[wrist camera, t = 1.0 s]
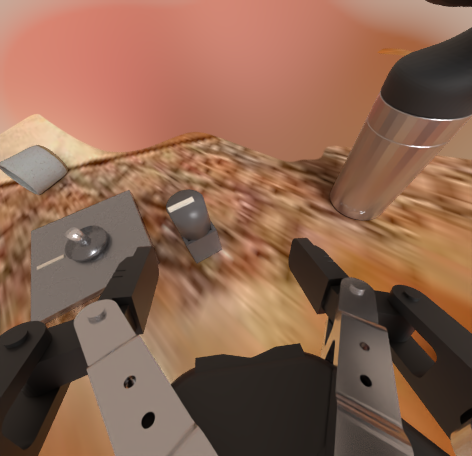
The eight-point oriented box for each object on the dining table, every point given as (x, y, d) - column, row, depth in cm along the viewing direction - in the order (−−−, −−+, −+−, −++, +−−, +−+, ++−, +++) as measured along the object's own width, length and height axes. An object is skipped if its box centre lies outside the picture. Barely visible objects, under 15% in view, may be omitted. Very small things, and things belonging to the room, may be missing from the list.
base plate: (132, 194, 41) (117, 174, 36) (159, 263, 32) (145, 248, 27) (37, 234, 37) (8, 218, 32) (38, 327, 28) (-1, 321, 23)
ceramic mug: (77, 174, 45) (48, 144, 39) (46, 199, 41) (9, 170, 35) (48, 164, 48) (17, 134, 42) (17, 186, 45) (-23, 158, 38)
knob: (209, 229, 35) (194, 182, 25) (221, 249, 32) (210, 206, 23) (185, 242, 34) (160, 197, 24) (196, 263, 31) (173, 224, 22)
